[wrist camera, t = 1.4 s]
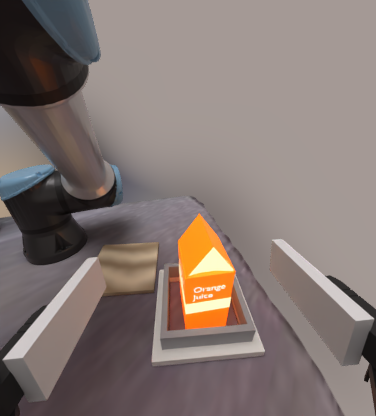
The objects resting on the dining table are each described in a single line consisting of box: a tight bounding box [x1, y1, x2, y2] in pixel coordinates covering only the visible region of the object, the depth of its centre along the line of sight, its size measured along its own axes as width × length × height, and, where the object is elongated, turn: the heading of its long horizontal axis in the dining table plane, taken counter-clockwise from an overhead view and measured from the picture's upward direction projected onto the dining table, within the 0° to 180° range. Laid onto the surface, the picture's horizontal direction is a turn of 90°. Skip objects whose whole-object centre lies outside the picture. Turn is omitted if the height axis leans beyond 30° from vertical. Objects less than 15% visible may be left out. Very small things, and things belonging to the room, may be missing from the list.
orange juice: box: [178, 214, 236, 329], centre depth 31 cm, size 8×9×20 cm
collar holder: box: [152, 263, 265, 367], centre depth 35 cm, size 18×18×5 cm
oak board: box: [98, 242, 159, 296], centre depth 45 cm, size 16×16×1 cm
